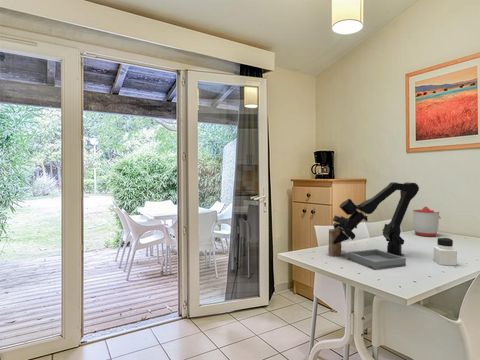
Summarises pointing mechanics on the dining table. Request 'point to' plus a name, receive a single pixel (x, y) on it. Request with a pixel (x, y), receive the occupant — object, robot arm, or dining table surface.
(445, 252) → the medicine bottle
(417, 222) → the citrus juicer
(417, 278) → the dining table surface
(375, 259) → the tray
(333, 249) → the walnut block
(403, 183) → the robot arm
